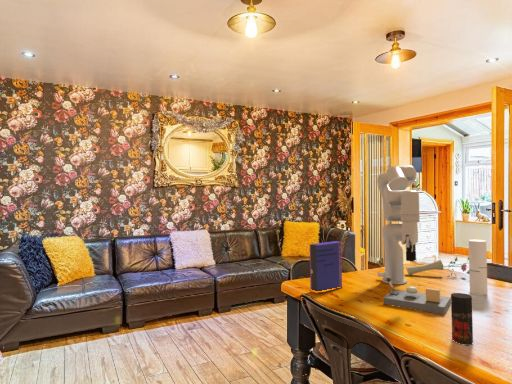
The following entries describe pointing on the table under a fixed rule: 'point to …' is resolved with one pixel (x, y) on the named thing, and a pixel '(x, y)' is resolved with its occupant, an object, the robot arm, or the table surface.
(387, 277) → the toggle lever
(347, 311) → the table surface
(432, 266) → the flower vase
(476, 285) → the cylindrical container
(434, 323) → the table surface
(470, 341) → the deodorant
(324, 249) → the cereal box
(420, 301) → the control panel
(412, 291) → the push button
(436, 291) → the paddle switch
